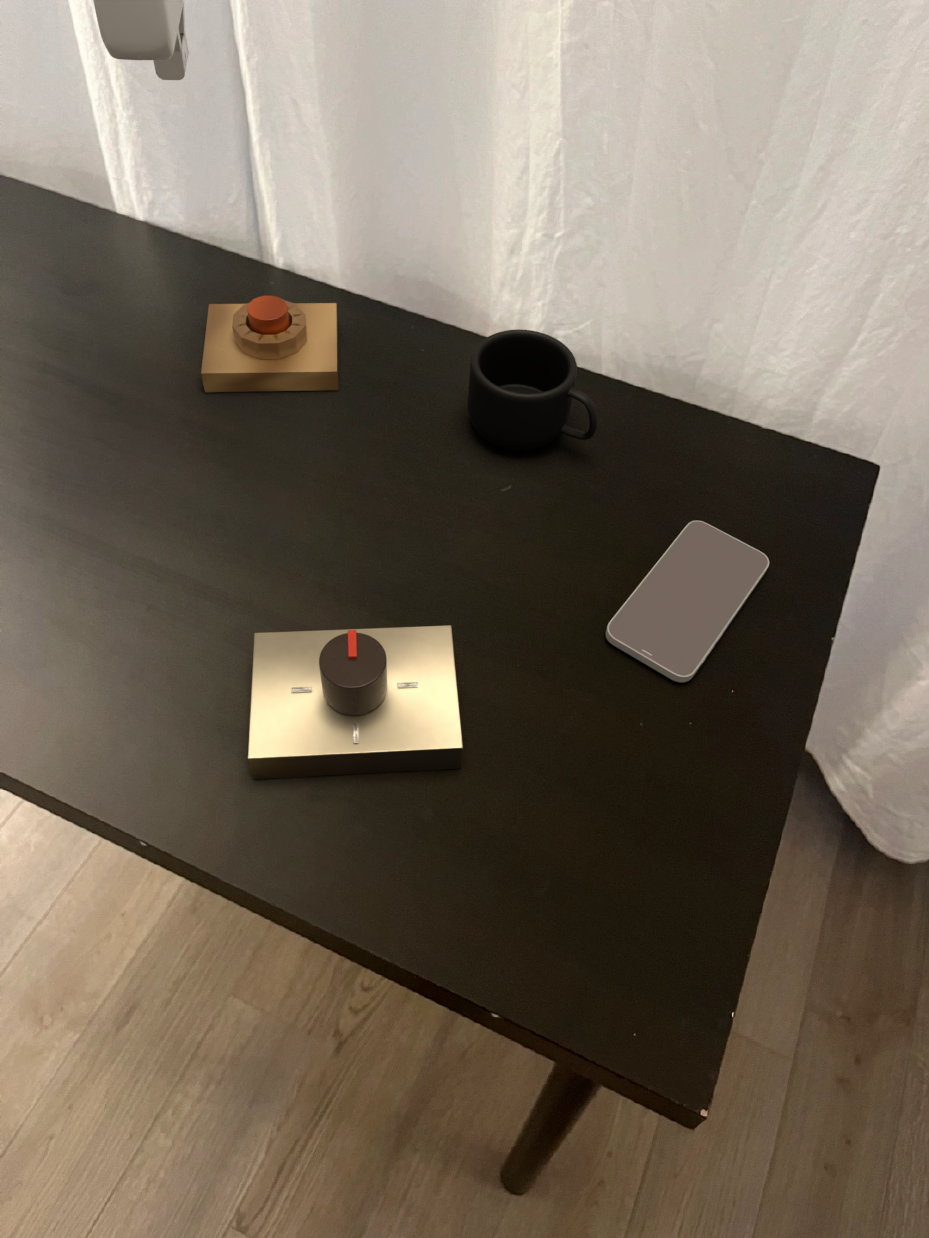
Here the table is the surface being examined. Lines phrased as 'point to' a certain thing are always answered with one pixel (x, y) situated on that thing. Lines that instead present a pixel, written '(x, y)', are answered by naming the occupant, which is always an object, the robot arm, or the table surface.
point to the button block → (271, 351)
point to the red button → (268, 315)
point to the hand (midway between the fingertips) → (173, 69)
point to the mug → (524, 390)
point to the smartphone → (687, 600)
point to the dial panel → (354, 744)
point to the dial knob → (353, 673)
